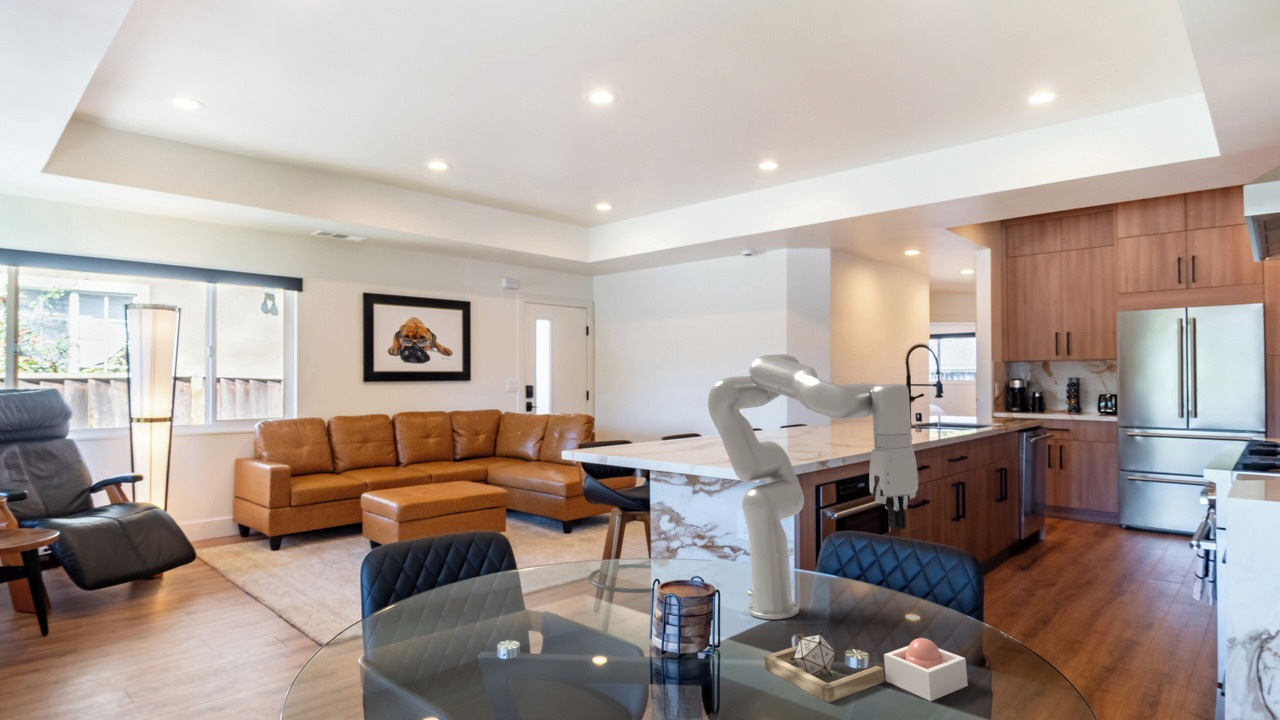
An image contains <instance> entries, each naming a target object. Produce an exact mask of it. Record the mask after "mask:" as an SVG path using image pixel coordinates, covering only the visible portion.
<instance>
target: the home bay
mask: <svg viewBox="0 0 1280 720" xmlns="http://www.w3.org/2000/svg"><path fill="white" fill-rule="evenodd" d="M797 646H798V645H796V646H793V647H790V648H786V649H783V650H780V651H777V652H773V653H769V654H767V655H765V656H764V655H763V656H764V669H765V670H767V671H769V672H771V673H772V674H774V675H776V676H778V677H780V678H782V679H783V680H785V681H787V682H790V683H791V684H793V685H795V686H796V687H798V688H800V689H802V690H804V691H806V692H808V693H810V694H811V695H813V696H815V697H816V698H819V699H820V700H823V701H824V702H826V703H828V704H830V703H832V702H835V701H837V700H839V699H842V698H845V697H847V696H850V695H853V694H856V693H858V692H859V693H860V692H861V691H864V690H866V689H869V688H871V687H874V686H876V685H880V684H883V683H884V682H885V678H884V677H885V676H884V668H883V667H881V666H878V665H875V666H872V667H870V668H867V669H864V670H861V671H859V672H856V673H852V674H850V675H848V676H845V677H842V678H839V679H837V680H834V681H831V682H829V683H828V682H826V681H824V680H821V679H820V678H819V677H817V676H812V675H810V674H808V673H806V672H804V671H803V670H802V669H800V668H798V667H796V666H794V665H792V664H795V663H796V664H797V662H796V661H795V660H790V658H792V657H793V658H794V656H795V652H796V649H797Z"/></svg>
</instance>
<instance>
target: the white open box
mask: <svg viewBox="0 0 1280 720" xmlns="http://www.w3.org/2000/svg"><path fill="white" fill-rule="evenodd" d="M908 647H909V645H907V646H904V647H901V648H898V649H895V650H893V651H890V652H887V653H884V654H883V661H884V672H885V681H886V682H887V683H889V684H892V685H894V686H896V687H899V688H901V689H902V690H905V691H907V692H909V693H911V694H914V695H916V696H918V697H920V698H922V699H925V700H927V701H929V702H932V701H933V702H934V701H935V700H937V699H939V698H941V697H943V696H947V695H949V694H951V693H954V692H957V691H959V690H961V689H963V688H965V687H968V674H967V672H968V671H967V662H966V657H963V656H961V655H958V654H955V653H952V652H949V651H947V650H944V649H941V648H939V647H937V648H938V649H939V652H940V653H941V654H942V656H943V663H942V664H940V665H937V666H934V667H932V668H929V669H926V668H923V667H921V666H918V665H916V664H913V663H911V662H908V661H906V653H905V652H906V651H907V650H908Z"/></svg>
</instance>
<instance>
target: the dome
mask: <svg viewBox="0 0 1280 720" xmlns="http://www.w3.org/2000/svg"><path fill="white" fill-rule="evenodd" d="M908 646H909V647H908V650H907V651H906V652H905V653H906V661H908V662H911V663H913V664H916V665H918V666H921V667H923V668H926V669H929V668H932V667H934V666H937V665H940V664H942V663H943V656H942V654H941V653H940V652H939V649H940V648H939V647H938V646H937V645H936V644H935V643H934V642H933V641H932V640H930V639H928V638H924V637H919V638H915V639H913V640H911V642H909V645H908ZM938 648H939V649H938Z"/></svg>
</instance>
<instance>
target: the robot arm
mask: <svg viewBox="0 0 1280 720" xmlns="http://www.w3.org/2000/svg"><path fill="white" fill-rule="evenodd" d="M748 374H749V375H744V376H743V375H742V376H741V375H739V376H731V377H730V376H729V377H726V378H722V379H720V380H718V381H716V382H715V383H714V384H713V385H712V387H711V389H710V391H709V394H708V397H707V405H708V406H707V407H708V412H709V416H710V418H711V421H712V422H713V424H714V426H715V428H716V430H717V431H718V434H719V435H720V438H721V440H722V443H723V447H724V449H725V452H726V453H727V456H728V458H729V461H730V465H731V467H732V469H733V471H734V473H735V475H736V476H737V478H738V479H739V480H740V481H742V482H744V483H751V482H757V481H762V480H764V481H765V483H762V484H759V485H756V486H753V487H751V488H750V489H748V491H747V492H746V493H745V494H744V495H743V498H742V504H741V505H742V512H743V517H744V519H745V523H746V529H747V535H748V545H749V556H750V557H749V558H750V568H751V569H750V570H751V571H750V572H751V582H752V583H751V584H752V586H751V589H749V590H747V592H746V594H747V596H749V597H750V598H751V603H749V604H748V605H747V612H748V613H749V614H750V615H751V616H753V617H756V618H759V619H765V620H784V619H789V618H793V617H795V616H796V615H797V614H799V612H800V607H799V604H798V603H796V602H795V601H793V594H792V581H791V579H792V578H791V568H790V566H791V565H790V555H789V553H790V552H789V543H788V537H787V535H786V531H785V529H784V527H783V525H782V523H781V520H784V519H787V518H790V517H793V516H796V515H798V514H799V513H800V512H801V511H802V510H803V507H804V504H805V497H804V492H803V490H802V489H803V488H802V487H801V484H800V482H799V479H798V476H797V473H796V472H795V469H794V466H793V465H792V462H791V460H790V458H789V456H788V454H787V452H786V451H785V450H784V448H783V447H782V446H781V445H779V444H778V443H776V442H773V441H761V442H759V440H758V437H757V436H756V434H755V431H754V428H753V426H752V425H751V423H750V422H749V421H748V419H747V418H746V417H745V416H744V415H743V414H742V413H741V412H740V410H741V409H742V410H743V409H749V408H750V409H752V408H758V407H762V406H765V405H767V404H768V403H769V404H770V403H771V402H772V401H773V400H775V399H777V398H778V397H780V396H781V395H782V396H785V397H787V398H791V399H793V400H796V401H798V402H799V403H800V404H801V405H802V406H803V407H805V408H806V409H808V410H809V411H812V412H815V413H817V414H820V415H823V416H826V417H829V418H832V419H836V420H841V421H842V420H843V421H845V420H852V419H858V418H859V419H860V418H866V417H871V416H872V427H873V440H874V441H873V444H874V445H873V446H874V448H872V449H871V453H870V458H869V474H868V476H869V477H868V478H869V480H868V481H869V482H868V484H869V492H870V493H869V494H871V495H872V496H873V495H874V496H875V498H874V501H875V503H878V504H883V505H884V506H885V509H886V510H887V513H888V514H887V517H888V527H889V528H891V529H893V530H894V529H895V530H898V531H900V530H905V529H907V521H906V510H907V509H908V503H909V502H910V500H912V499H914V498H916V497H917V491H918V489H919V473H918V465H917V459H916V455H915V450H914V447H913V443H912V440H913V435H912V425H911V424H912V423H911V406H910V393H909V388H908V386H907V385H905V384H903V383H885V384H884V383H883V384H882V383H881V384H876V383H875V384H874V383H868V382H867V383H866V382H864V383H863V382H861V383H852V384H851V383H850V384H837V383H834V382H829V381H826V380H824V379H821V378H819V377H818V373H817V372H816V370H815V368H813V367H811V366H809V365H805V364H802V363H800V361H799V360H798V359H797V358H796V357H794V356H793V355H790V354H764V355H760V356H758V357H756V358H755V359H754V360H753V361H752V363H751V364H750V366H749V371H748Z"/></svg>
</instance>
